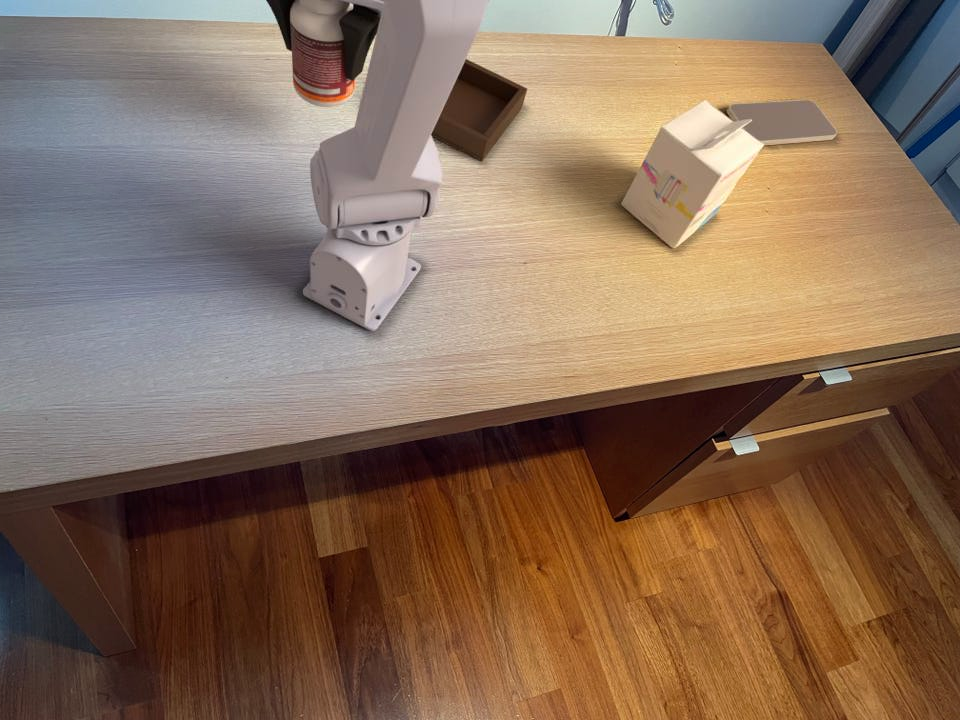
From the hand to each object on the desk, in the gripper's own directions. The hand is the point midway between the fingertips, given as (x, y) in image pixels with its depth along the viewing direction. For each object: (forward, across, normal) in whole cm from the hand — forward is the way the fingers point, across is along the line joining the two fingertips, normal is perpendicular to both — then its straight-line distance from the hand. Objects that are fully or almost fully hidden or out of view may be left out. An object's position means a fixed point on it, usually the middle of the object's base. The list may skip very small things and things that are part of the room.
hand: (325, 60), depth 67 cm
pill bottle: (+4, 0, 0) cm, 4 cm away
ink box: (+11, -38, -14) cm, 42 cm away
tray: (+10, -10, -14) cm, 20 cm away
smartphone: (+10, -47, -40) cm, 63 cm away
